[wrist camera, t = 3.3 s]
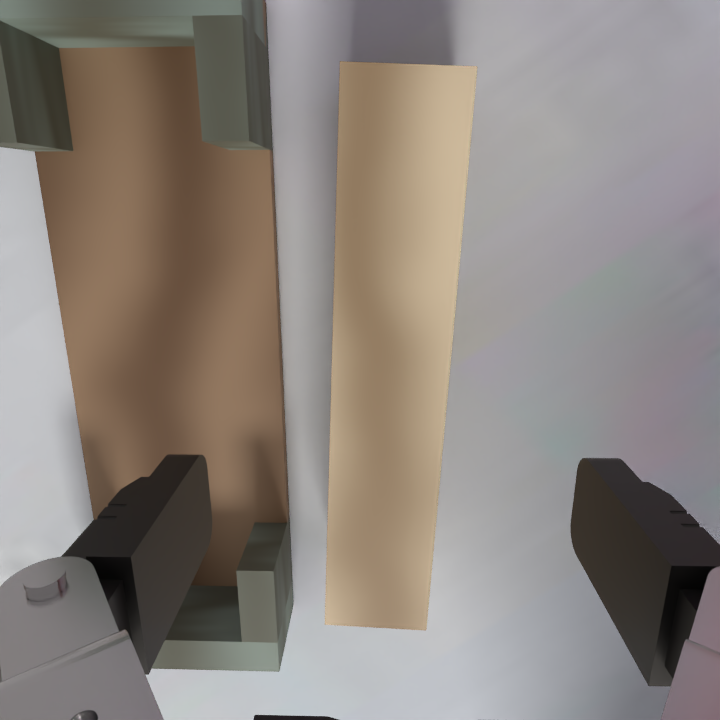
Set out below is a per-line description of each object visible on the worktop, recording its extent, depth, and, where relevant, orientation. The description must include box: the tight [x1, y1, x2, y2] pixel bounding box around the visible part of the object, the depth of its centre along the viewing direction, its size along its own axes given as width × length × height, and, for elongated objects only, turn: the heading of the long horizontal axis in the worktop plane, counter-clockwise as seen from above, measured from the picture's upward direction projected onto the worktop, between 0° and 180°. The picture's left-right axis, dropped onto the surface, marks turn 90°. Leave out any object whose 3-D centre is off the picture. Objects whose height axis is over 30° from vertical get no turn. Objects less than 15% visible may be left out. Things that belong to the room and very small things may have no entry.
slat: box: [325, 61, 477, 630], centre depth 21 cm, size 4×20×5 cm, turn 178°
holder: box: [0, 0, 293, 672], centre depth 22 cm, size 9×26×4 cm, turn 0°
